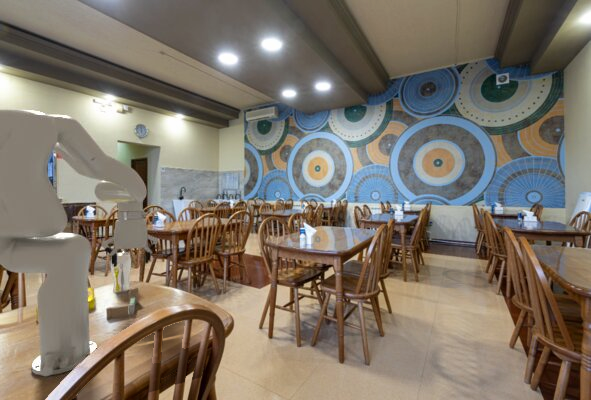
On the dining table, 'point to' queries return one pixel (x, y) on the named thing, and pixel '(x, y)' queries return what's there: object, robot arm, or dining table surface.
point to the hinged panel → (133, 296)
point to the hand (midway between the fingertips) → (131, 264)
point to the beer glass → (121, 272)
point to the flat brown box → (119, 311)
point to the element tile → (90, 300)
